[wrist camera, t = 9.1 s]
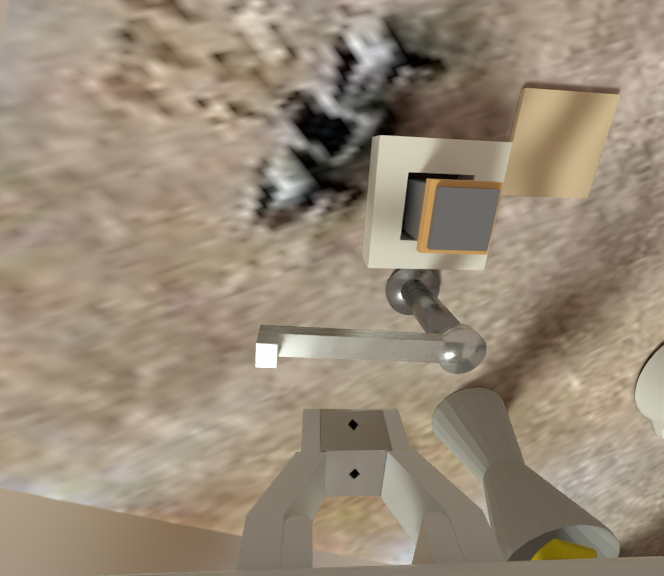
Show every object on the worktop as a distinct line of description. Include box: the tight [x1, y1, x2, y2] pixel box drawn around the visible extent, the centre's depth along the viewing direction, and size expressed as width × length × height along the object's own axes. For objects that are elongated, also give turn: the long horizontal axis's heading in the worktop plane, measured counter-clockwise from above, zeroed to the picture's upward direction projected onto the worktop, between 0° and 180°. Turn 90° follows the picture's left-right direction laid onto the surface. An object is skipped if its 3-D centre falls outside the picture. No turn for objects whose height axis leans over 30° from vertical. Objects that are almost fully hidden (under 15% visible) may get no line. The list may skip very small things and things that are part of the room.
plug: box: [402, 178, 503, 255], centre depth 25 cm, size 5×5×8 cm
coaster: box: [501, 88, 621, 198], centre depth 28 cm, size 8×8×1 cm
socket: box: [362, 135, 513, 270], centre depth 28 cm, size 10×10×3 cm
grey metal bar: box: [256, 324, 486, 374], centre depth 21 cm, size 15×3×2 cm, turn 84°
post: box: [386, 269, 461, 334], centre depth 27 cm, size 5×5×10 cm
